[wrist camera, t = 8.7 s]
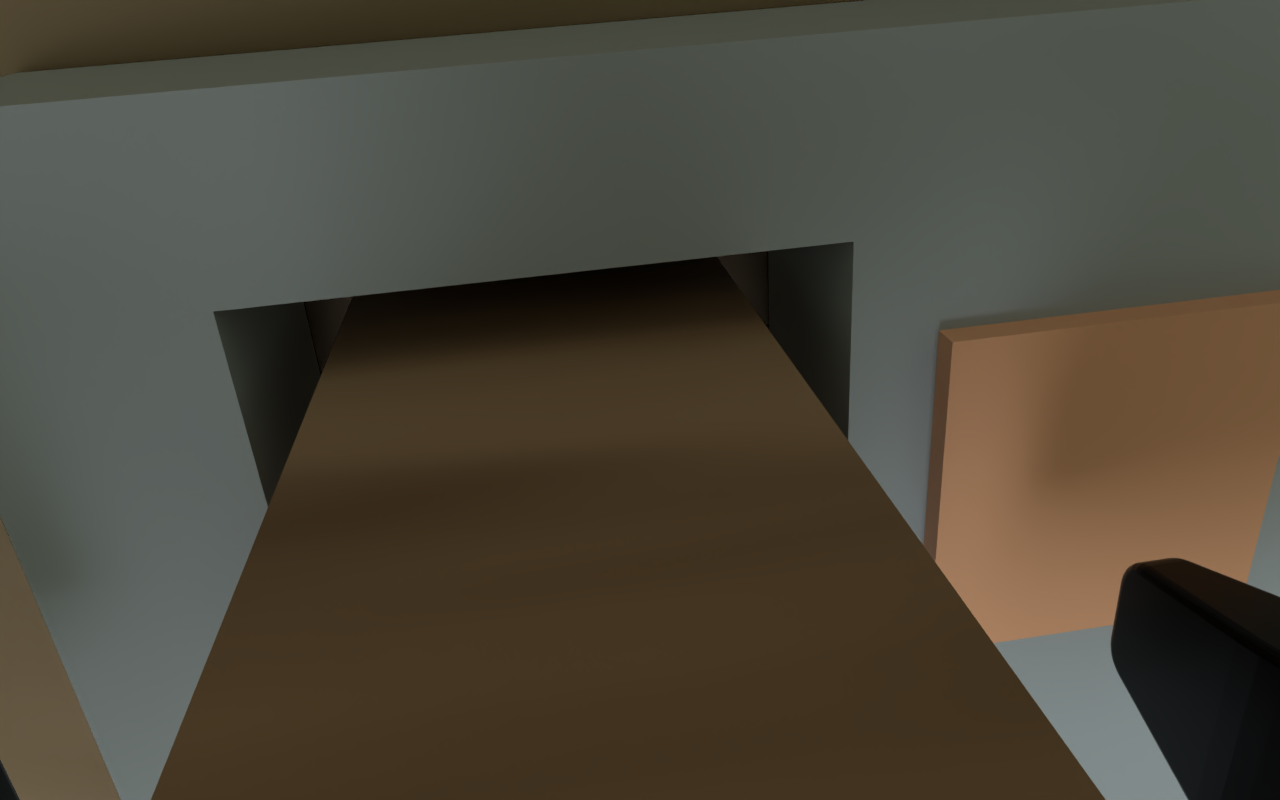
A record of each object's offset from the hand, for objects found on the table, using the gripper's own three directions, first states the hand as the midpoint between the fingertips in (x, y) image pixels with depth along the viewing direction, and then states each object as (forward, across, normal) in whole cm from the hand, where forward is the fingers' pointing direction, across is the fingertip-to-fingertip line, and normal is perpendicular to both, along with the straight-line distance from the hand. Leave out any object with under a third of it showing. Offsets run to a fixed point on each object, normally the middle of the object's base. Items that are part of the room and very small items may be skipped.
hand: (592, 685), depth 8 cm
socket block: (+5, -2, +4) cm, 7 cm away
